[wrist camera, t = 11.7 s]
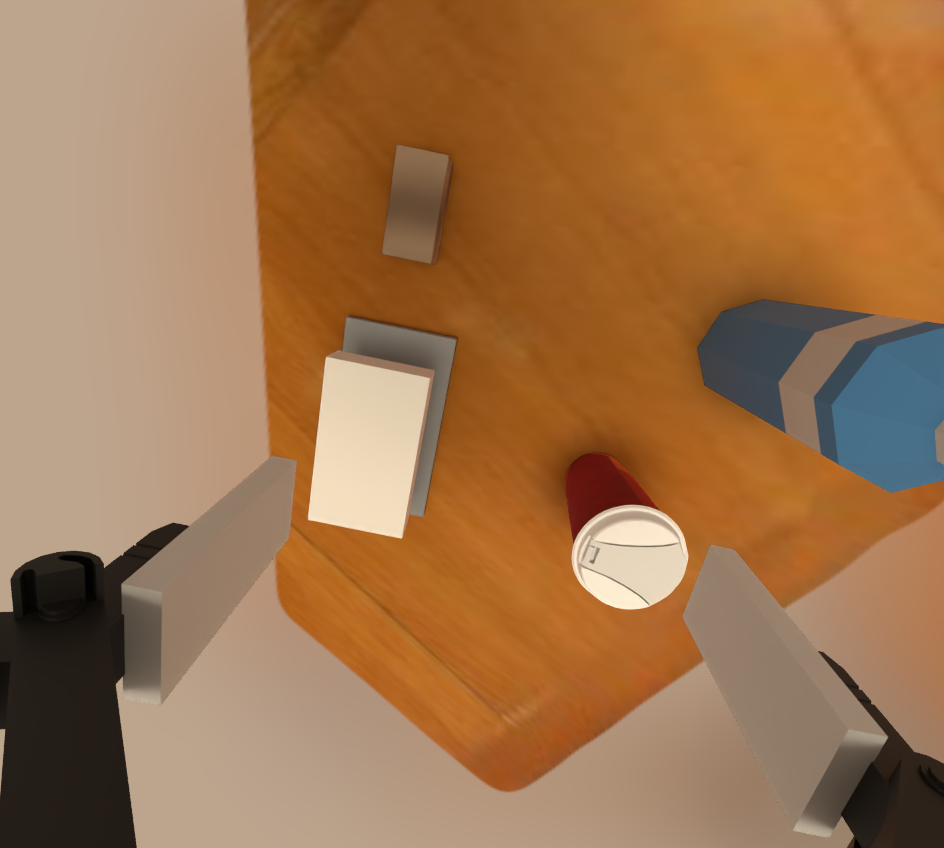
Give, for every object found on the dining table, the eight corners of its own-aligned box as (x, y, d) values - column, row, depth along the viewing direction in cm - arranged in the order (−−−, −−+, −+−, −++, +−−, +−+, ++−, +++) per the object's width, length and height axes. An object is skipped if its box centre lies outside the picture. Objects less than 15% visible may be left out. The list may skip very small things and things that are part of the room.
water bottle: (686, 398, 47) (875, 533, 24) (709, 294, 45) (949, 330, 21) (788, 407, 47) (1082, 554, 23) (817, 304, 44) (1186, 351, 21)
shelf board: (337, 350, 41) (326, 356, 39) (434, 370, 42) (430, 378, 39) (319, 503, 46) (307, 519, 43) (407, 521, 46) (401, 538, 43)
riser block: (406, 155, 43) (396, 144, 39) (453, 165, 43) (448, 155, 39) (392, 254, 45) (382, 253, 41) (436, 263, 45) (430, 263, 41)
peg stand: (349, 315, 47) (328, 323, 41) (457, 337, 47) (451, 348, 41) (328, 491, 52) (306, 521, 46) (424, 511, 52) (415, 542, 46)
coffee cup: (542, 505, 51) (558, 599, 37) (569, 431, 49) (597, 500, 35) (621, 527, 52) (668, 628, 37) (652, 454, 49) (714, 533, 35)
